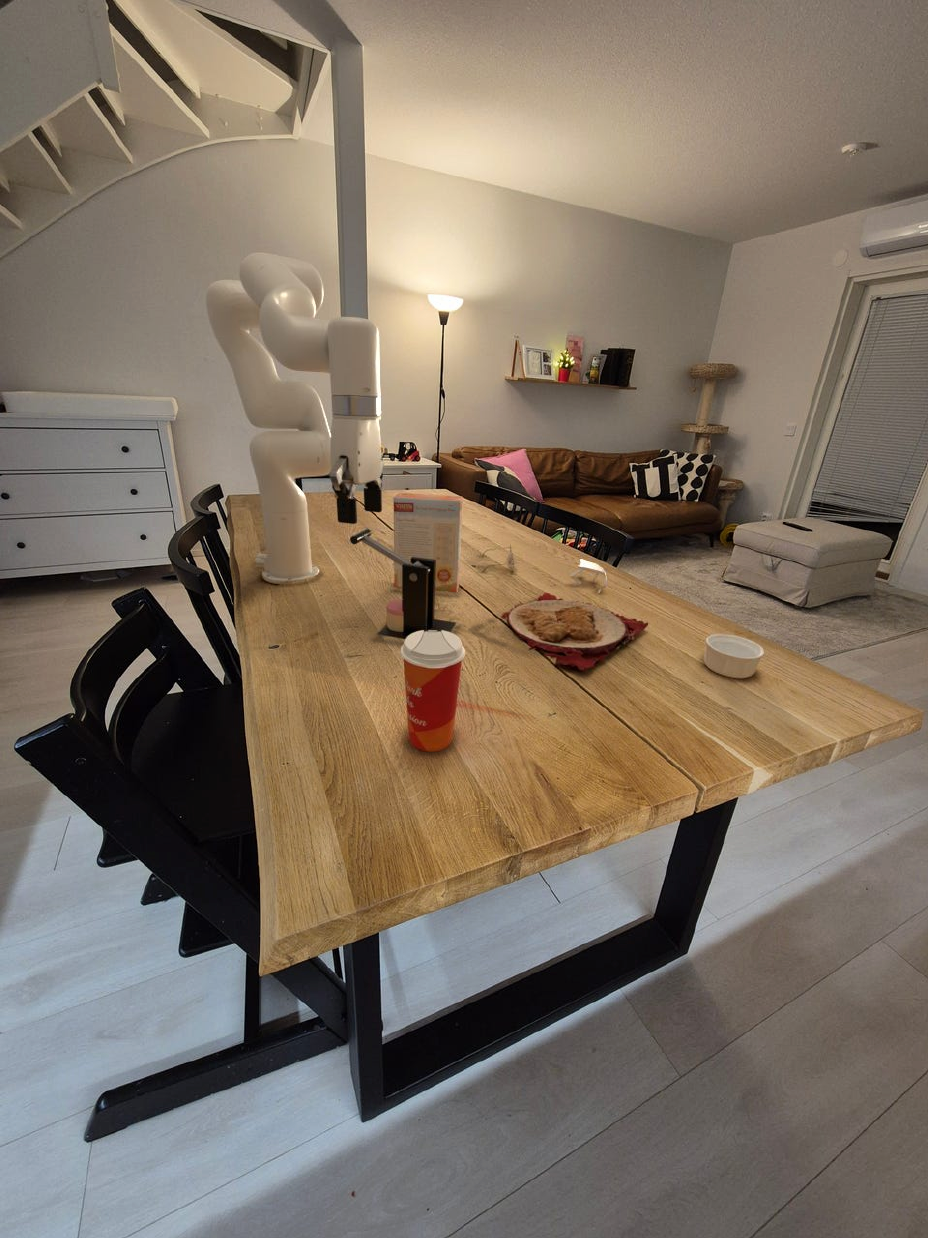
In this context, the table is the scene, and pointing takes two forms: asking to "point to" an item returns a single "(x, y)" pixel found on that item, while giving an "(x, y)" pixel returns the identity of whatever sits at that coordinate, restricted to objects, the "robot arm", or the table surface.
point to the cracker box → (429, 535)
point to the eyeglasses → (508, 556)
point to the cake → (395, 615)
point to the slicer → (418, 600)
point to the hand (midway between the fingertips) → (361, 516)
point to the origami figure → (589, 567)
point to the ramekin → (732, 655)
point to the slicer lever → (380, 547)
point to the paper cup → (431, 686)
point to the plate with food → (572, 629)
